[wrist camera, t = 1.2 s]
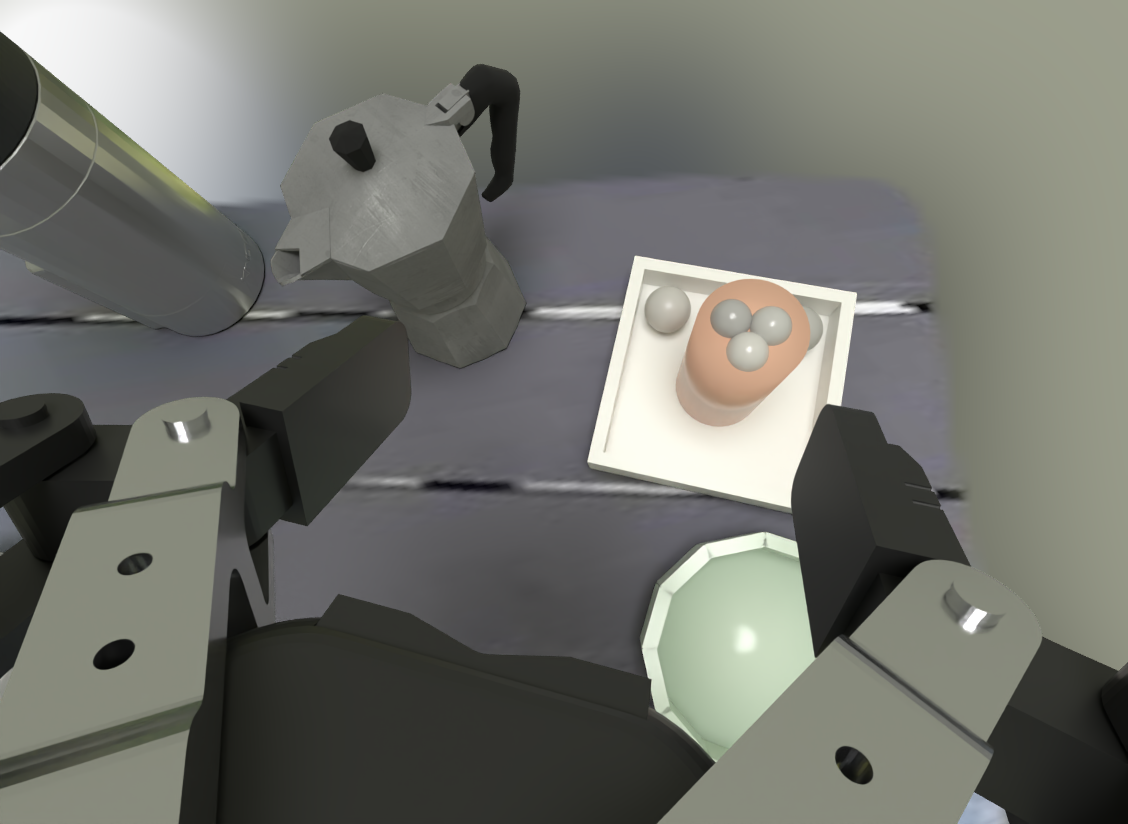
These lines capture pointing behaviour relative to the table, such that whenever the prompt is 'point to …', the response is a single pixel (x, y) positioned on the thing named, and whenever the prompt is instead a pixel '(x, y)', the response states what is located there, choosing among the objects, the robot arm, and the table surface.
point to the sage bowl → (726, 636)
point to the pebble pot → (740, 350)
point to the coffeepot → (410, 214)
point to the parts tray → (671, 436)
